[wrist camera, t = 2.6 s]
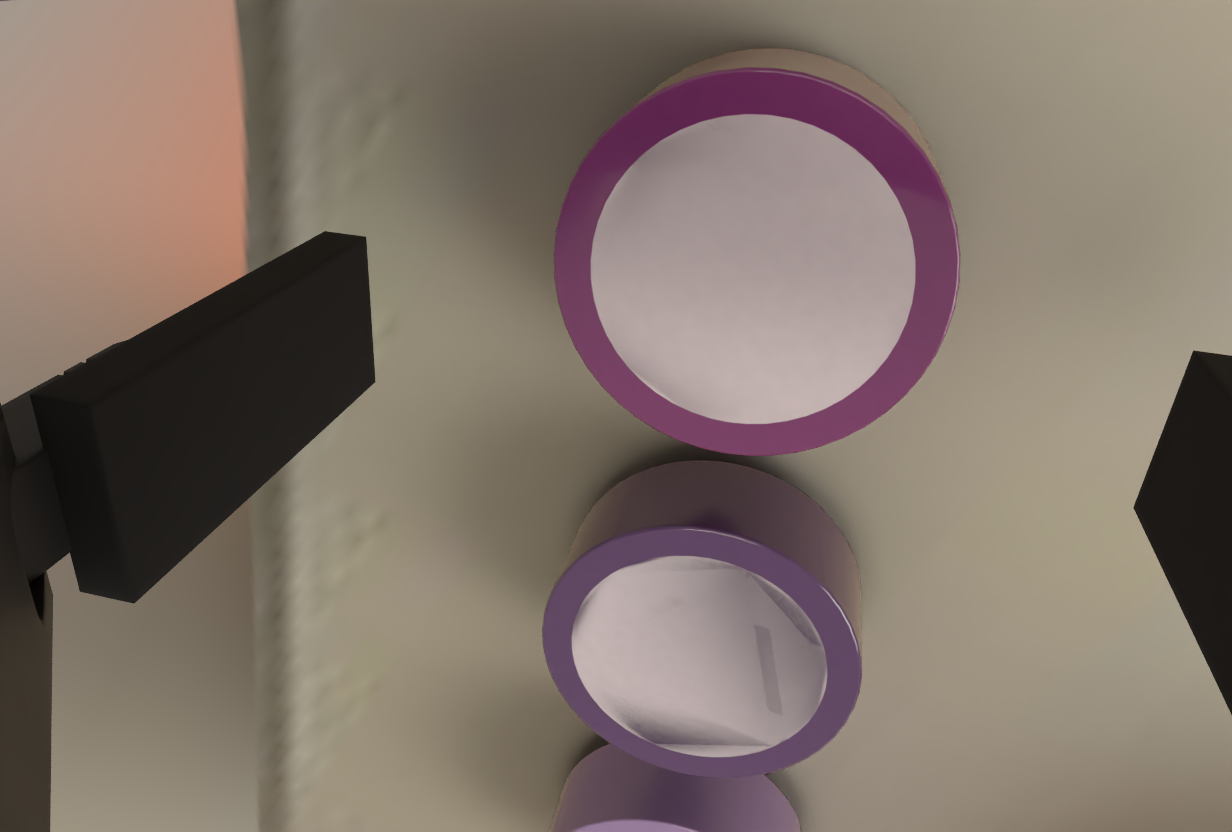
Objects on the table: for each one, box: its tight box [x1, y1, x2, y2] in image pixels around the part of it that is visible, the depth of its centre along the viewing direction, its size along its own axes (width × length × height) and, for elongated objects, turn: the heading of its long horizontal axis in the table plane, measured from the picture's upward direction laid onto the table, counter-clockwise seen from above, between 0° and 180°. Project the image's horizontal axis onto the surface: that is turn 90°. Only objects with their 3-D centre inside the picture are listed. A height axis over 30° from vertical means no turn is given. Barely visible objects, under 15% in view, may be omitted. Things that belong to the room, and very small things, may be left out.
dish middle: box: [542, 460, 862, 778], centre depth 25 cm, size 8×8×4 cm
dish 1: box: [554, 48, 960, 456], centre depth 20 cm, size 8×8×4 cm
